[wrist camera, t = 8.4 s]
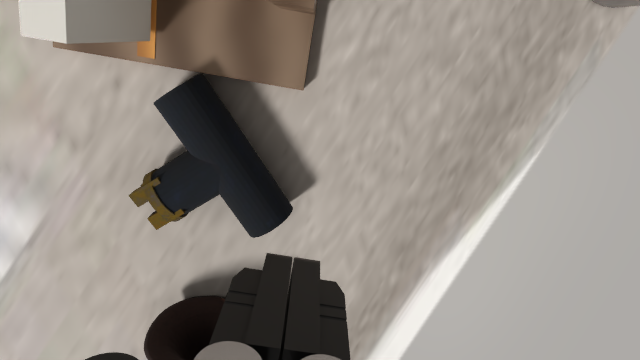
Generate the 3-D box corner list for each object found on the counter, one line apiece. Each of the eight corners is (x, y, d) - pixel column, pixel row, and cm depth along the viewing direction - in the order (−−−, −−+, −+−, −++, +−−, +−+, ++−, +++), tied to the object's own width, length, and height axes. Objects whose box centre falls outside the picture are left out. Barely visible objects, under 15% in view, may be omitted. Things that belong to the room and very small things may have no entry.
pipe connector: (189, 277, 39) (83, 146, 35) (203, 250, 44) (112, 133, 40) (291, 220, 37) (193, 75, 33) (293, 198, 42) (208, 71, 38)
